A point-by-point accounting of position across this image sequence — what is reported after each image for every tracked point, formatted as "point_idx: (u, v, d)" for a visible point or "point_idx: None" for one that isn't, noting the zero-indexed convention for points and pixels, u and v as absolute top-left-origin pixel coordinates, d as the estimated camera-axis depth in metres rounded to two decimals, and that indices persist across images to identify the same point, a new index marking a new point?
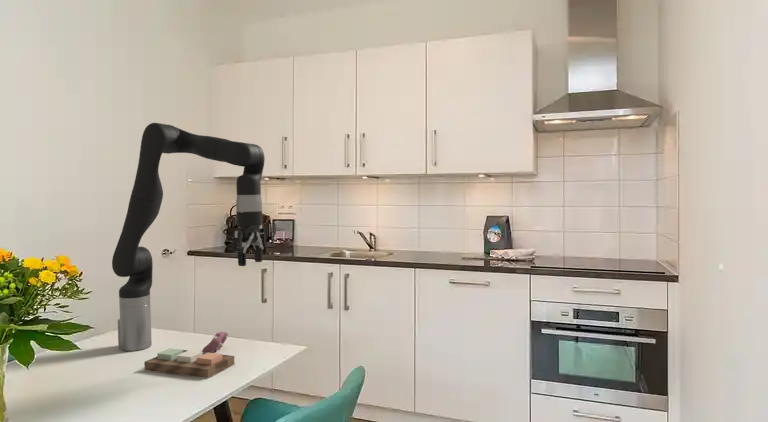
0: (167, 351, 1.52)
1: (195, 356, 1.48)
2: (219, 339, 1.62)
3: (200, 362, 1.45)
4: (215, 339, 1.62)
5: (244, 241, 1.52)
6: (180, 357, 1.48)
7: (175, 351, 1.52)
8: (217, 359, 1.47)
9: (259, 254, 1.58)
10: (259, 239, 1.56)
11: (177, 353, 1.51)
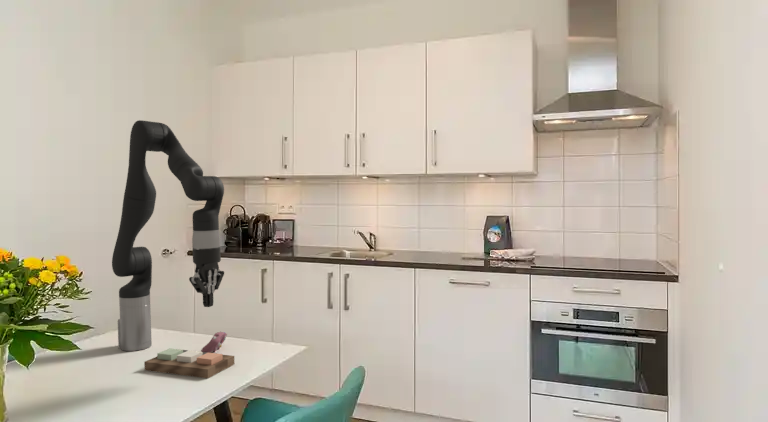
0: (167, 351, 1.52)
1: (195, 356, 1.48)
2: (218, 339, 1.62)
3: (200, 362, 1.45)
4: (214, 339, 1.62)
5: None
6: (180, 357, 1.48)
7: (175, 351, 1.52)
8: (217, 359, 1.47)
9: None
10: (214, 278, 1.47)
11: (177, 353, 1.51)
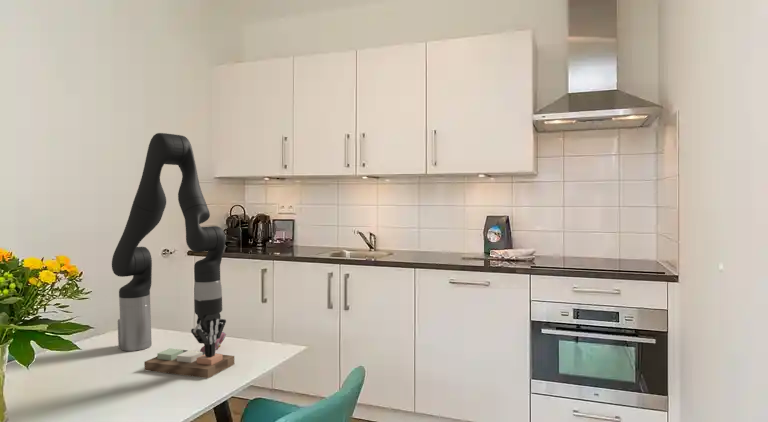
0: (167, 351, 1.52)
1: (195, 356, 1.48)
2: (217, 339, 1.62)
3: (200, 362, 1.45)
4: None
5: None
6: (180, 357, 1.48)
7: (175, 351, 1.52)
8: (217, 359, 1.47)
9: None
10: (216, 328, 1.47)
11: (177, 353, 1.51)
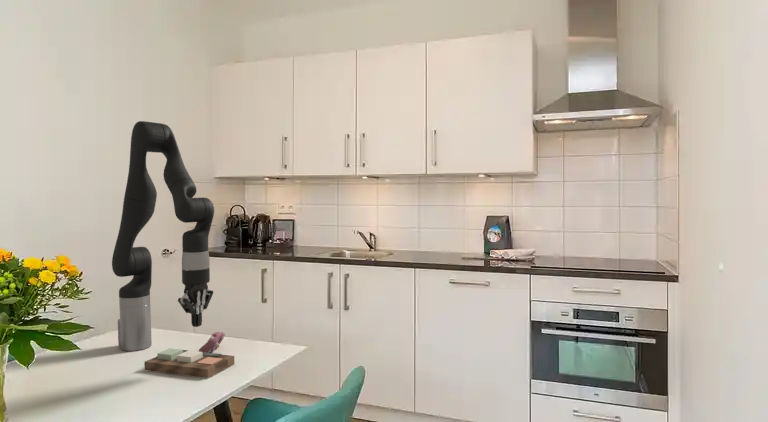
0: (167, 351, 1.52)
1: (195, 356, 1.48)
2: (216, 339, 1.62)
3: None
4: (212, 339, 1.62)
5: None
6: (180, 357, 1.48)
7: (175, 351, 1.52)
8: None
9: None
10: (203, 298, 1.49)
11: (177, 353, 1.51)
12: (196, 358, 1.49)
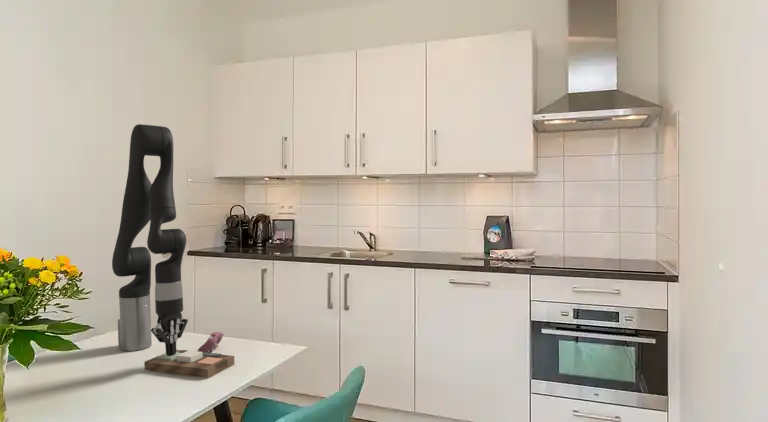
0: None
1: (195, 356, 1.48)
2: (214, 339, 1.62)
3: None
4: (210, 339, 1.62)
5: None
6: (180, 357, 1.48)
7: (175, 354, 1.52)
8: None
9: None
10: (177, 327, 1.52)
11: None
12: (196, 358, 1.49)
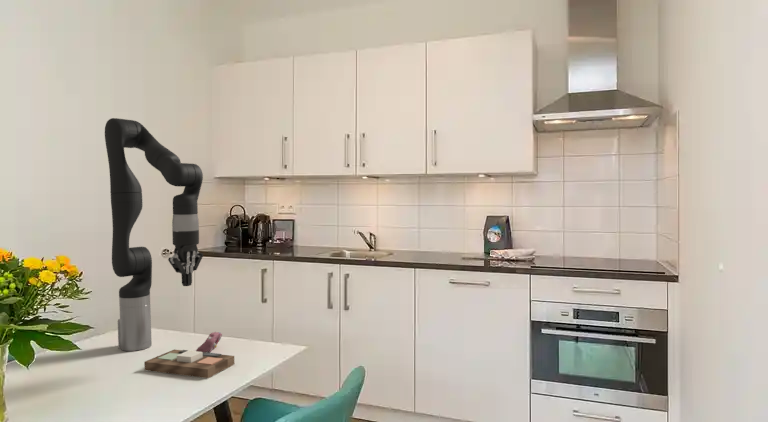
0: (167, 356, 1.52)
1: (195, 356, 1.48)
2: (213, 339, 1.62)
3: None
4: (209, 339, 1.62)
5: None
6: (180, 357, 1.48)
7: (175, 356, 1.52)
8: None
9: None
10: (193, 259, 1.57)
11: None
12: (196, 358, 1.49)
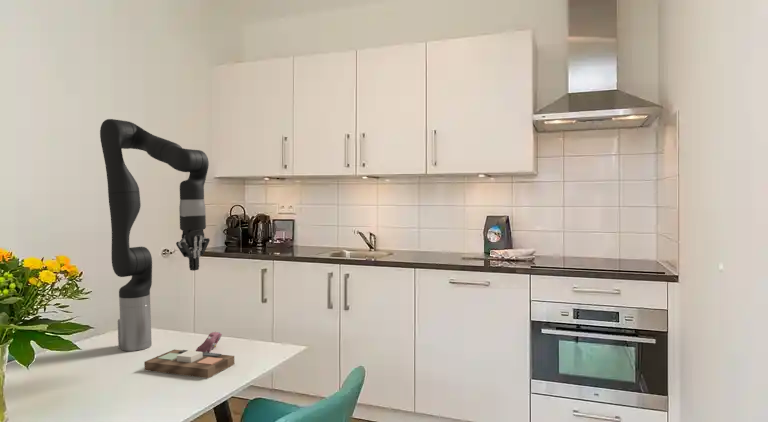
0: (167, 356, 1.52)
1: (195, 356, 1.48)
2: (212, 339, 1.62)
3: None
4: (208, 339, 1.62)
5: None
6: (180, 357, 1.48)
7: (175, 356, 1.52)
8: None
9: None
10: (200, 244, 1.59)
11: None
12: (196, 358, 1.49)
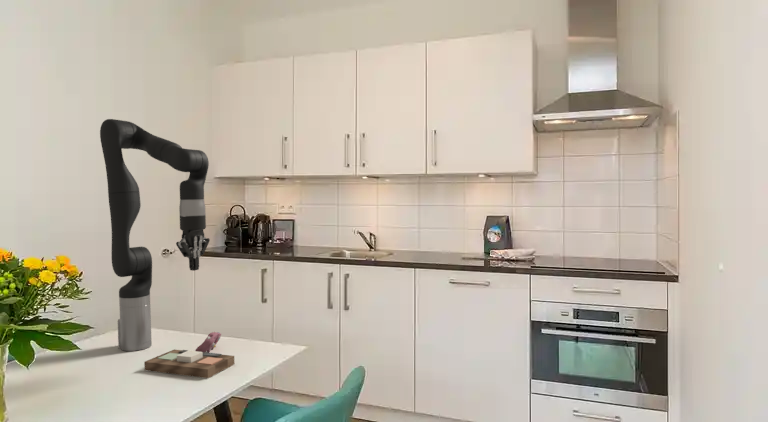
0: (167, 356, 1.52)
1: (195, 356, 1.48)
2: (212, 339, 1.62)
3: None
4: (208, 339, 1.62)
5: None
6: (180, 357, 1.48)
7: (175, 356, 1.52)
8: None
9: None
10: (200, 244, 1.59)
11: None
12: (196, 358, 1.49)
